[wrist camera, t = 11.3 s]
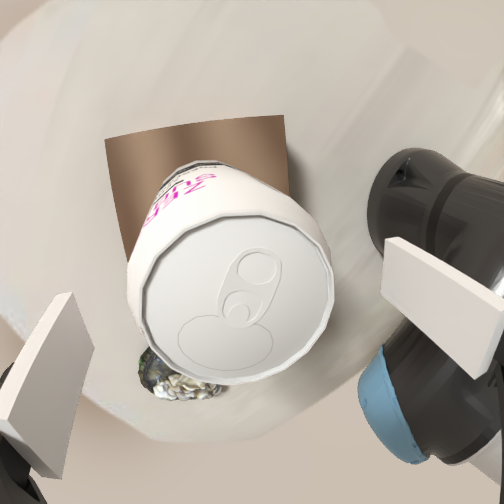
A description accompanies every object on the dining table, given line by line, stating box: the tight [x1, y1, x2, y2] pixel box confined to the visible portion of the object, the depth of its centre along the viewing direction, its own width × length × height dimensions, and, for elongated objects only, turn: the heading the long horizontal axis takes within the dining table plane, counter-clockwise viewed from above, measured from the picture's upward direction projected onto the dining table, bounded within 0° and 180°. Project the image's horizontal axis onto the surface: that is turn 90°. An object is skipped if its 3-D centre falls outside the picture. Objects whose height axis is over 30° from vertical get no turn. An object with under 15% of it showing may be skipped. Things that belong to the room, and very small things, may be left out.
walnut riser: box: [105, 115, 290, 262], centre depth 27 cm, size 14×14×6 cm
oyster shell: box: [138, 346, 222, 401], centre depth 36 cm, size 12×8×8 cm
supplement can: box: [127, 160, 334, 385], centre depth 17 cm, size 8×8×15 cm
